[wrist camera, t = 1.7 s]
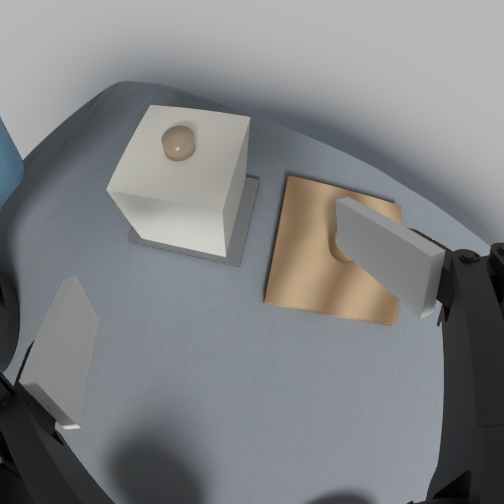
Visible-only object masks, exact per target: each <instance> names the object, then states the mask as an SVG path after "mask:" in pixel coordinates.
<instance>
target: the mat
mask: <svg viewBox="0 0 504 504" xmlns="http://www.w3.org/2000/svg"><path fill="white" fill-rule="evenodd" d="M258 185H259V179H254V178H249V177H246V179H245V184H244V188H243V191H242V195H241V199H240V203H239V207H238V211H237V215H236V219H235V223H234V226H233V230H232V234H231V238H230V242H229V246H228V250H227V255H226V257H223V256H218V255H214V254H209V253H205V252H200V251H196V250H191V249H187V248H182V247H178V246H173V245H169V244H164V243H160V242H155V241H151V240H147V239H142V238H141V237H140V235H139V234H138V233H137V232H136V230H135V229H134V227H133V226H132V229H131V232H130V235H129V238H128V241H129V242H132V243H136V244H140V245H145V246H149V247H153V248H158V249H162V250H166V251H171V252H175V253H179V254H184V255H188V256H193V257H197V258H202V259H206V260H211V261H215V262H220V263H224V264H229V265H233V266H238V267H240V263H241V259H242V254H243V250H244V246H245V241H246V237H247V233H248V228H249V224H250V220H251V215H252V211H253V207H254V202H255V198H256V194H257V190H258Z"/></svg>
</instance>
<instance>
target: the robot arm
mask: <svg viewBox="0 0 504 504" xmlns="http://www.w3.org/2000/svg"><path fill="white" fill-rule="evenodd" d="M23 173H24V165H23V161H22V158H21V156H20V154H19V152H18V150H17V148H16V147H15V145H14V143H13V141H12V139H11V137H10V135H9V133H8V131H7V129H6V127H5V125H4V123H3V122H2V119H1V117H0V212H1V207H2V206H3V204H4V203H5V202H6V201H7V199H8V198H9V197H10V195H11V194H12V193H13V192H14V190H15V189H16V188H17V187H18V185H19V184H20V182H21V180H22V178H23ZM335 202H336V215H337V231H338V249H340V250H341V251H342V252H343V253H345V254H346V255H347V256H348V257H349V258H351V259H352V260H353V261H354V262H355V263H357V264H358V265H359V266H360V267H361V268H363V269H364V270H365V271H366V272H367V273H368V274H370V275H371V276H372V277H373V278H374V279H375V280H377V281H378V282H379V283H380V284H381V285H382V286H384V287H385V288H386V289H387V290H388V291H389V292H390V293H392V294H393V295H394V296H395V297H396V298H397V299H398V300H399V301H401V302H402V303H403V304H404V305H405V306H406V307H407V308H408V309H410V310H411V311H412V312H413V313H414V314H415V315H416V316H417V317H418V318H419V319H422V318H424V317H425V316H427V315H429V314H431V313H432V312H434V308H435V304H436V299H437V300H438V301H440V302H441V303H442V307H441V311H440V315H439V318H438V322H437V326H439V325H440V322H441V321H442V334H443V352H444V404H443V421H442V433H441V443H440V452H439V459H438V465H437V468H436V471H435V473H434V475H433V477H432V479H431V482H430V485H429V488H428V492H427V497H426V501H422V502H418V503H415V504H504V243H494V244H492V245H491V249H490V254H489V255H488V256H483V257H481V256H480V255H479V254H477V253H476V252H474V251H471V250H467V249H459V250H456V251H454V252H453V251H451V250H450V249H448V248H446V247H445V246H443V245H441V244H440V243H438V242H436V241H435V240H432V239H431V238H430V237H428V236H425V235H424V234H423V233H421V232H419V231H417V230H414V229H411V228H407V227H405V226H403V225H401V224H399V223H397V222H395V221H394V220H392V219H390V218H388V217H386V216H384V215H383V214H381V213H379V212H377V211H375V210H373V209H371V208H369V207H367V206H365V205H363V204H361V203H359V202H357V201H355V200H353V199H351V198H349V197H345V198H341V199H337V200H335ZM99 321H100V319H99V318H98V316H97V314H96V312H95V310H94V308H93V307H92V305H91V303H90V301H89V299H88V297H87V295H86V293H85V291H84V290H83V288H82V286H81V284H80V282H79V279H78V277H77V275H75V276H72V277H69V278H66V279H64V280H63V282H62V284H61V286H60V288H59V290H58V292H57V294H56V296H55V298H54V300H53V302H52V304H51V306H50V308H49V310H48V312H47V314H46V316H45V318H44V320H43V323H42V325H41V327H40V329H39V332H38V334H37V336H36V339H35V340H34V341H33V342H32V344H31V345H30V346H29V348H28V350H27V352H26V355H25V359H24V360H23V362H22V366H21V367H20V370H19V373H18V375H17V378H16V381H15V384H14V387H13V386H12V384H11V383H10V382H9V381H8V380H7V379H6V377H5V376H4V375H3V374H2V373H3V372H4V371H5V370H6V368H7V367H8V365H9V364H10V362H11V360H12V358H13V355H14V352H15V349H16V345H17V339H18V332H19V310H18V302H17V297H16V293H15V290H14V287H13V284H12V282H11V280H10V278H9V276H8V275H7V274H6V272H5V271H4V270H3V269H2V268H0V458H1V463H0V504H115V503H114V502H113V501H112V500H111V498H110V497H109V496H108V495H107V494H106V493H105V492H104V491H103V489H102V488H101V487H100V486H99V485H98V484H97V482H96V481H95V480H94V479H93V478H92V476H91V475H90V474H89V473H88V471H87V470H86V469H85V468H84V466H83V465H82V464H81V462H80V461H79V460H78V458H77V457H76V456H75V454H74V453H73V452H72V450H71V449H70V447H69V446H68V444H67V443H66V442H65V440H64V439H63V437H62V436H61V434H60V433H59V432H58V431H57V430H56V429H55V422H56V421H57V422H58V423H59V424H60V425H61V426H62V427H63V428H65V429H74V428H81V421H82V413H83V405H84V398H85V391H86V385H87V379H88V373H89V368H90V363H91V358H92V353H93V348H94V343H95V339H96V334H97V330H98V326H99ZM407 504H414V503H413V501H411V502H409V503H407Z"/></svg>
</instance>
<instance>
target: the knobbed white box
mask: <svg viewBox="0 0 504 504" xmlns="http://www.w3.org/2000/svg"><path fill="white" fill-rule="evenodd" d="M249 129H250V117H247V116H241V115H235V114H229V113H222V112H215V111H207V110H199V109H191V108H181V107H170V106H157V105H150V107H149V108H148V110H147V112H146V113H145V115H144V117H143V118H142V120H141V122H140V124H139V125H138V127H137V129H136V131H135V133H134V135H133V136H132V138H131V140H130V142H129V144H128V146H127V148H126V150H125V152H124V154H123V156H122V158H121V160H120V162H119V164H118V166H117V168H116V170H115V172H114V174H113V176H112V178H111V180H110V183H109V185H108V187H107V189H106V190H107V191H108V193H109V194H110V196H111V197H112V199H113V200H114V201H115V203H116V204H117V206H118V207H119V208H120V210H121V211H122V213H123V214H124V215H125V217H126V218H127V219H128V221H129V222H130V223H131V225H132V226H133V227H134V229H135V230H136V232H137V233H138V234H139V235H140V237H141V238H142V239H147V240H151V241H155V242H160V243H164V244H169V245H173V246H178V247H182V248H187V249H191V250H196V251H200V252H205V253H209V254H214V255H218V256H223V257H226V255H227V250H228V246H229V242H230V238H231V234H232V230H233V226H234V223H235V219H236V215H237V211H238V207H239V203H240V199H241V195H242V191H243V188H244V184H245V179H246V166H247V153H248V141H249Z"/></svg>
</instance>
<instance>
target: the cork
mask: <svg viewBox="0 0 504 504" xmlns="http://www.w3.org/2000/svg"><path fill="white" fill-rule="evenodd" d="M329 251H330V253H331V255H332V256H333V257H334V258H335V259H336V260H337V261H339V262H342V263H349V262H352V261H353V260H352V259H351V258H349V257H348V256H347V255H346V254H345V253H343V252H342V251H341V250H340V249H338V231H337V230H336V232H335V233H334V234H333V235H332V237H331V238H330V240H329Z"/></svg>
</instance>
